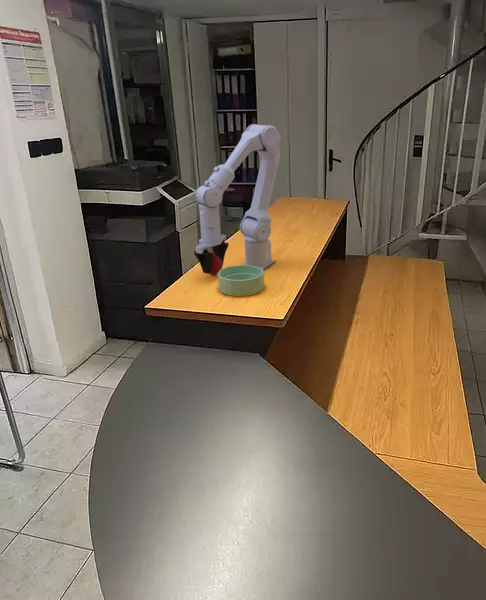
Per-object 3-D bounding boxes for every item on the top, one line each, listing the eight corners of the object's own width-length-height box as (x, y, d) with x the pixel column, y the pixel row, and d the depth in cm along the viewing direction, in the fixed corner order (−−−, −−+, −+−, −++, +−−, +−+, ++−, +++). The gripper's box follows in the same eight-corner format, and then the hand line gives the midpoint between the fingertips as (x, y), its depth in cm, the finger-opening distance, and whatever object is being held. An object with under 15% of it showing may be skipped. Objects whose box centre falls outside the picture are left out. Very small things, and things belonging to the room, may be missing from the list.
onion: (219, 279, 148) (217, 254, 145) (201, 278, 149) (199, 253, 146) (225, 273, 153) (224, 249, 150) (208, 272, 155) (206, 248, 151)
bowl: (225, 279, 148) (224, 264, 147) (267, 281, 147) (267, 265, 145) (213, 295, 136) (212, 279, 134) (259, 298, 135) (258, 281, 133)
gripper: (211, 219, 153) (214, 260, 158) (185, 231, 140) (189, 274, 146) (231, 221, 150) (233, 263, 156) (206, 233, 138) (209, 278, 143)
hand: (213, 269), depth 150 cm, fingers open, 7 cm apart
